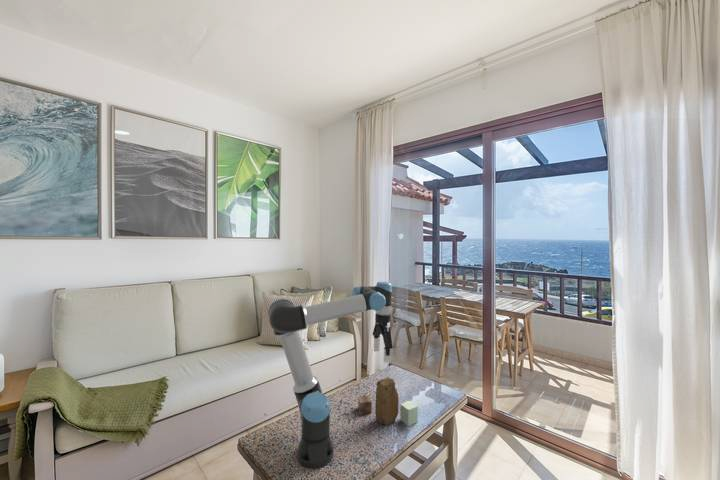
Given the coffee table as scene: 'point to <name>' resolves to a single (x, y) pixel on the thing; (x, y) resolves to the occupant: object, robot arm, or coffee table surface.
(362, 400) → the walnut block
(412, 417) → the green block
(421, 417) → the coffee table surface
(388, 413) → the pitted sandstone rock
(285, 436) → the coffee table surface
